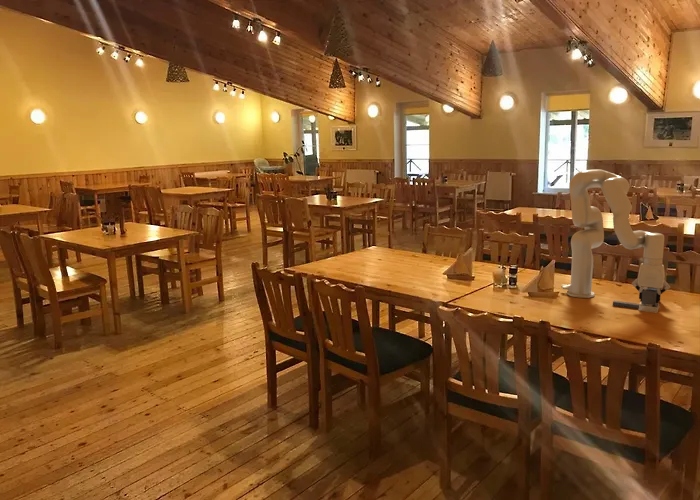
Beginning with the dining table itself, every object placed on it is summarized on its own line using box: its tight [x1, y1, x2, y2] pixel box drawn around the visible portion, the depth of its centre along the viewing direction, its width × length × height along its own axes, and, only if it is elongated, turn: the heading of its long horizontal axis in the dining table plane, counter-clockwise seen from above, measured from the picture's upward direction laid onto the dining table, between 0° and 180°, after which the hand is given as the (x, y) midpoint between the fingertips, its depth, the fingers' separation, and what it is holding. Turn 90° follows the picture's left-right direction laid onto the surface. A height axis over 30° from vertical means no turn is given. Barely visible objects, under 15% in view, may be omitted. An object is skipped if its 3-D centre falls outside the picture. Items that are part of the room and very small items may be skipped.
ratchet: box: [612, 300, 660, 314], centre depth 262 cm, size 18×7×6 cm, turn 57°
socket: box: [640, 287, 658, 305], centre depth 258 cm, size 6×6×6 cm
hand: (649, 301), depth 259 cm, fingers closed on socket, 5 cm apart
